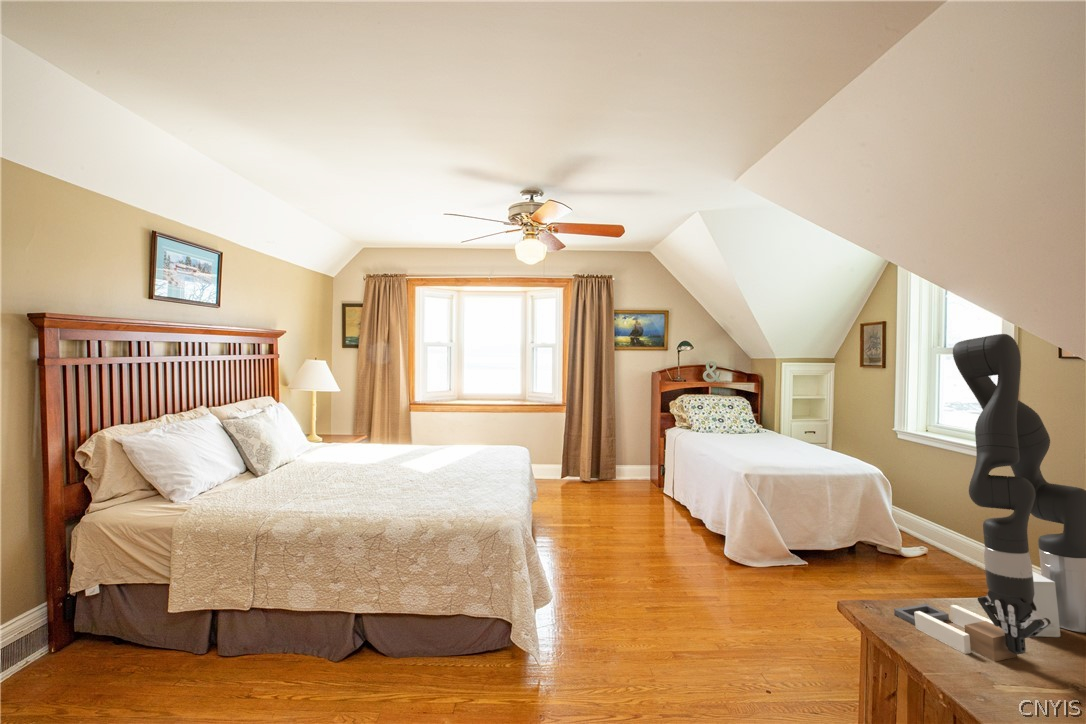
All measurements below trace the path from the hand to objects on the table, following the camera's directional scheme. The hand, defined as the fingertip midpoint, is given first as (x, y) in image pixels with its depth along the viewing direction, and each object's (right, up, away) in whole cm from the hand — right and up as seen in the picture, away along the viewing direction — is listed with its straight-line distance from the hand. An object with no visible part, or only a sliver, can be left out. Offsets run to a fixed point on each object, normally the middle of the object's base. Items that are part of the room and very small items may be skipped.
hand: (1015, 652), depth 107 cm
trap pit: (-4, -4, +21) cm, 22 cm away
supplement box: (+16, -2, +13) cm, 21 cm away
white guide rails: (-2, -3, +12) cm, 12 cm away
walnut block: (-1, -3, +5) cm, 6 cm away
